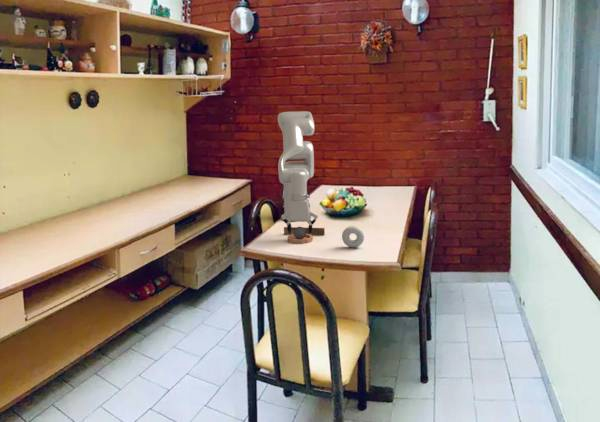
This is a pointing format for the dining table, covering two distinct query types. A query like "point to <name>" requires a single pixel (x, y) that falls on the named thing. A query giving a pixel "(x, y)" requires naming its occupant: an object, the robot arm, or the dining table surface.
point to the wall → (314, 231)
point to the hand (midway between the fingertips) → (299, 232)
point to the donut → (354, 230)
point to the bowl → (306, 239)
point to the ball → (299, 232)
